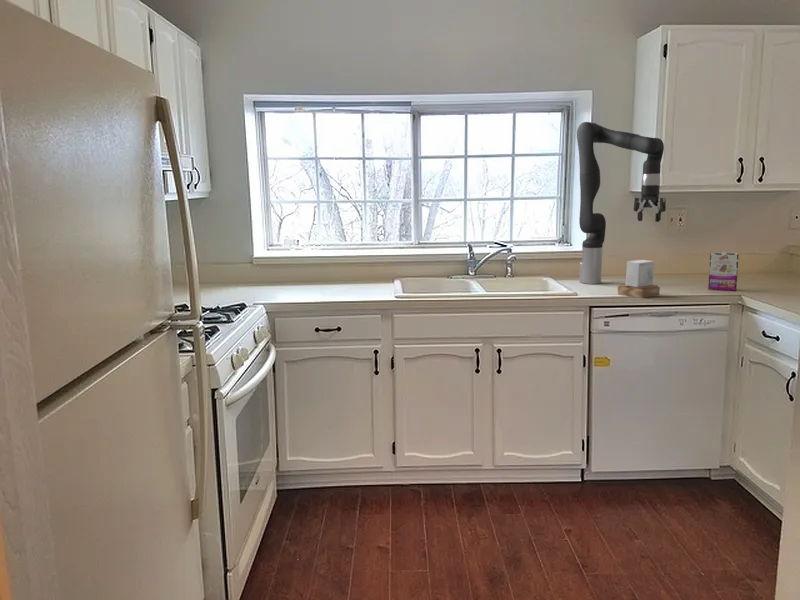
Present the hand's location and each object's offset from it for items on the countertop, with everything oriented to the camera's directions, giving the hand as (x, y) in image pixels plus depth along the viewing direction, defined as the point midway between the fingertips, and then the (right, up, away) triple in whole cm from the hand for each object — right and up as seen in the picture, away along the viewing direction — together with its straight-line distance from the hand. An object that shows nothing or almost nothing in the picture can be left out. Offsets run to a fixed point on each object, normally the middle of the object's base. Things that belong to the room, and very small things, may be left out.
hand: (648, 221), depth 280 cm
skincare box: (-9, -29, -12) cm, 32 cm away
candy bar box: (+32, -31, -2) cm, 44 cm away
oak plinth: (-9, -33, -11) cm, 35 cm away
